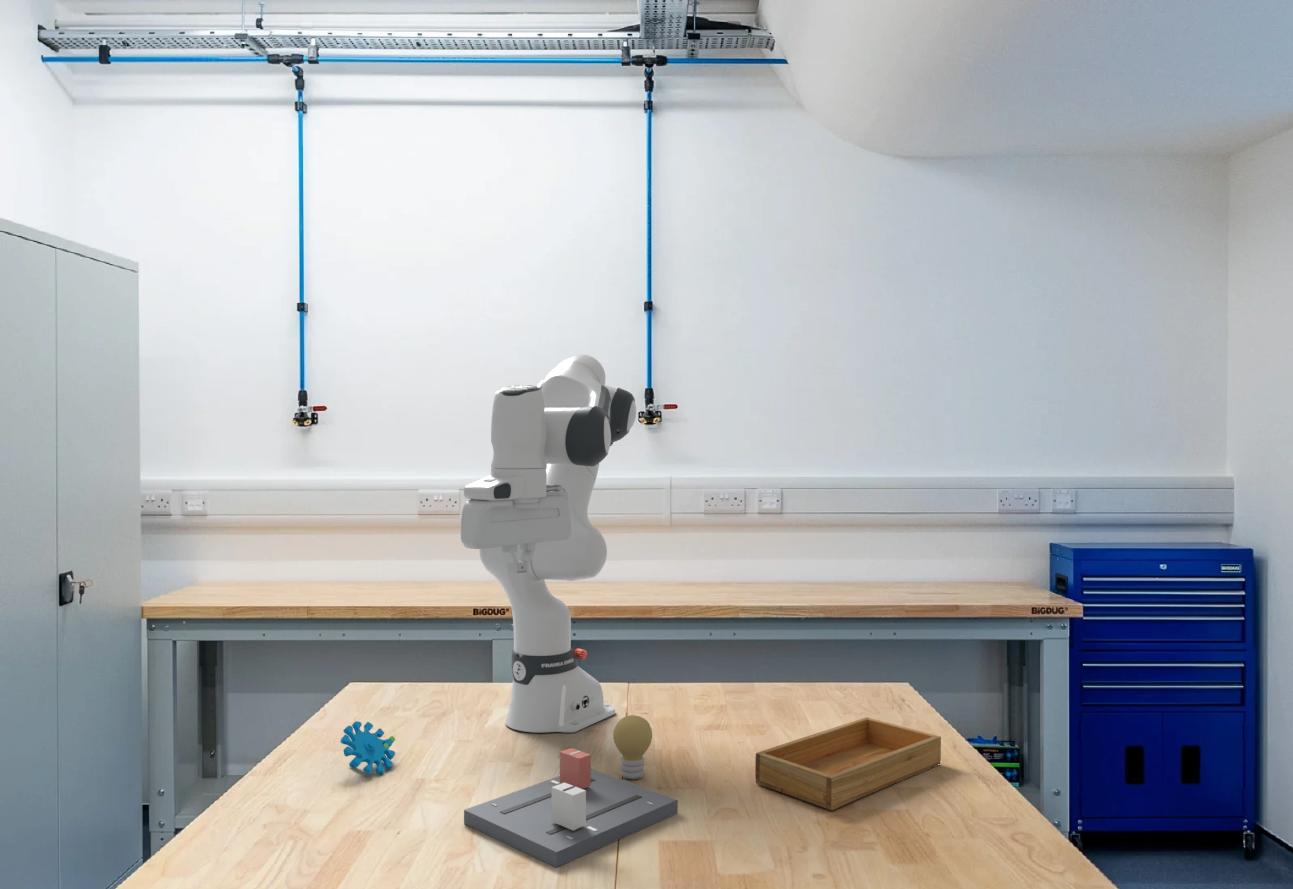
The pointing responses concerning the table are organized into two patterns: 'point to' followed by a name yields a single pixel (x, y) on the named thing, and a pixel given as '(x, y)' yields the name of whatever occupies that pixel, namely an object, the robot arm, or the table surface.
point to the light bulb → (632, 744)
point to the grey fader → (568, 806)
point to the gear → (368, 747)
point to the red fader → (575, 768)
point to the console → (532, 831)
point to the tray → (847, 761)
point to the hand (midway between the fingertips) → (518, 572)
